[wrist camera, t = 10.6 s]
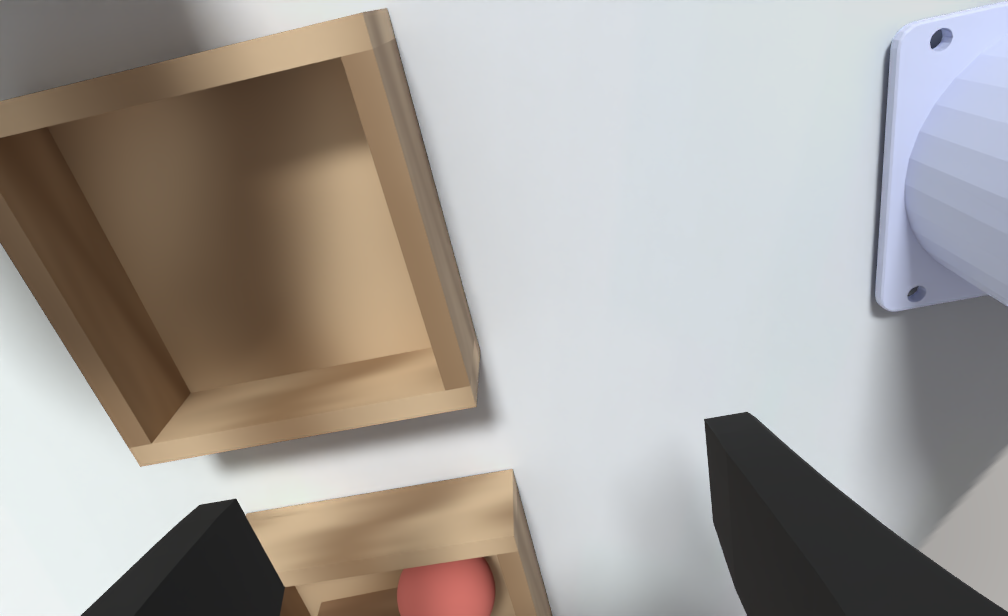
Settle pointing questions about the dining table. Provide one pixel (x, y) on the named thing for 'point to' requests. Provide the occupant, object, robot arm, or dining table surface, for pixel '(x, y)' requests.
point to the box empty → (242, 242)
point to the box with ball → (403, 542)
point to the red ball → (447, 589)
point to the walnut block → (363, 605)
